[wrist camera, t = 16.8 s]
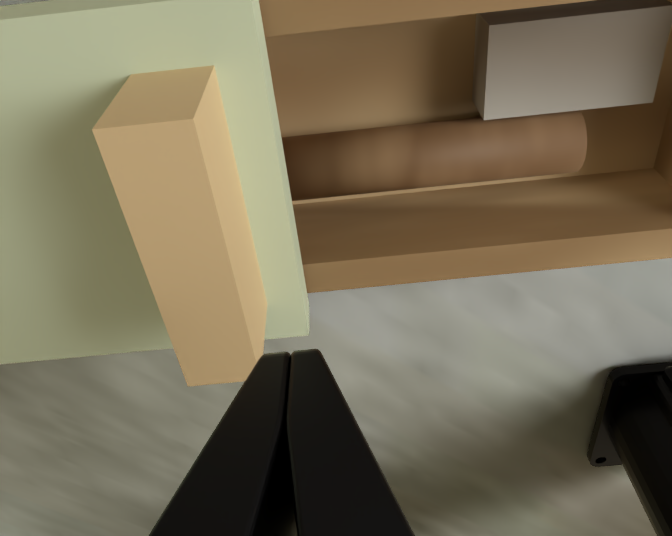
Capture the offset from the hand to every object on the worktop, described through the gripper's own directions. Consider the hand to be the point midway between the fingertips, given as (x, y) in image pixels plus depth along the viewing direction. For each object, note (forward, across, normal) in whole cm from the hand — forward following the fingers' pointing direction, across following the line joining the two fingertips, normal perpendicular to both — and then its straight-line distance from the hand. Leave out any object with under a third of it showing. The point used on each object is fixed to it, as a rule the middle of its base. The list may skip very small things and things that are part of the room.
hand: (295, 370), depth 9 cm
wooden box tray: (+11, -4, 0) cm, 12 cm away
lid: (+7, +8, 0) cm, 10 cm away
